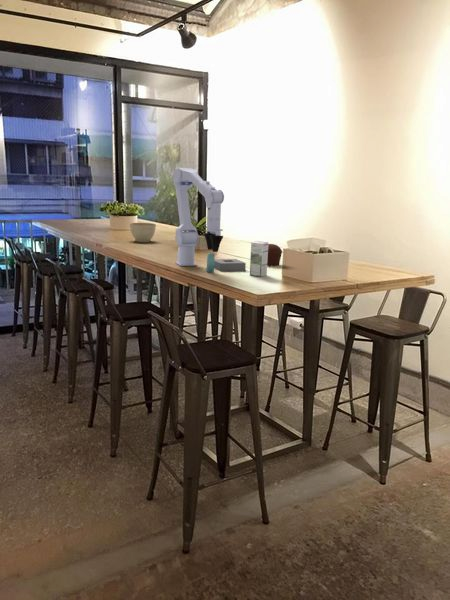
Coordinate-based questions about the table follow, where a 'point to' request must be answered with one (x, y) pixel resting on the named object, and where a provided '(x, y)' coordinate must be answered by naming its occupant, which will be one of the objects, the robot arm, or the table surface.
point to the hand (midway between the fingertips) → (212, 250)
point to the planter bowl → (142, 231)
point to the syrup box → (258, 258)
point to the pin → (210, 262)
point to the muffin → (273, 255)
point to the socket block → (229, 265)
